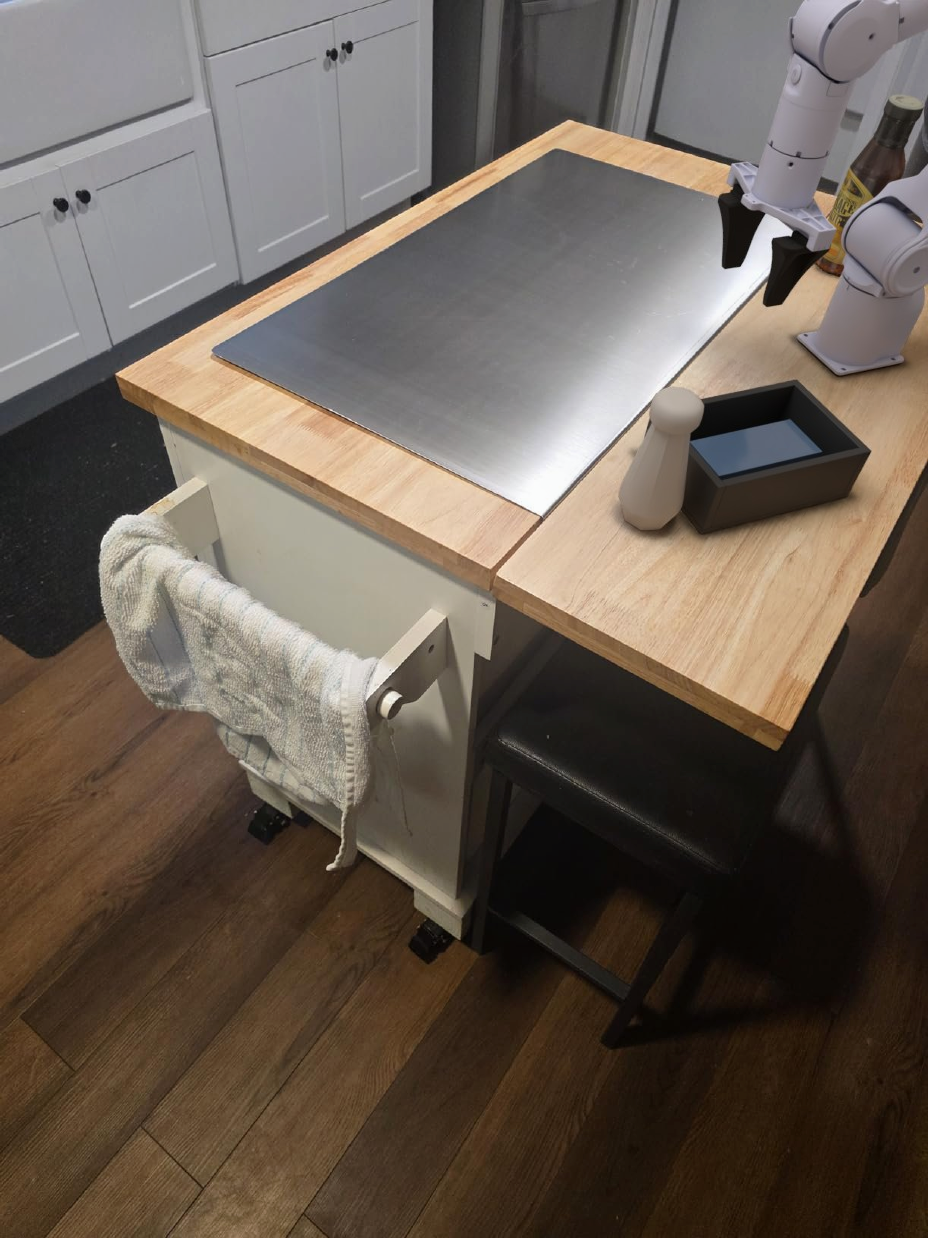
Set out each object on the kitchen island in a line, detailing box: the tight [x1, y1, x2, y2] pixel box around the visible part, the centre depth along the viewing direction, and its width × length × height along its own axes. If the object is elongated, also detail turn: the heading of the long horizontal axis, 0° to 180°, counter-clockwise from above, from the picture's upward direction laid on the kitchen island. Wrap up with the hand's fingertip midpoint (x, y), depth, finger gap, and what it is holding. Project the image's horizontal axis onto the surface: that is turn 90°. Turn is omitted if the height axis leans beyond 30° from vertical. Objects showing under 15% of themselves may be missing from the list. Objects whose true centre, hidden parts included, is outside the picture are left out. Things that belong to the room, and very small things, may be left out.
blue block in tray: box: [690, 419, 822, 481], centre depth 83 cm, size 5×12×3 cm, turn 112°
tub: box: [643, 379, 873, 535], centre depth 83 cm, size 17×12×6 cm
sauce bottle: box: [815, 94, 925, 275], centre depth 106 cm, size 6×6×20 cm
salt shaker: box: [617, 385, 704, 531], centre depth 75 cm, size 6×6×13 cm
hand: (751, 284), depth 90 cm, fingers open, 7 cm apart
